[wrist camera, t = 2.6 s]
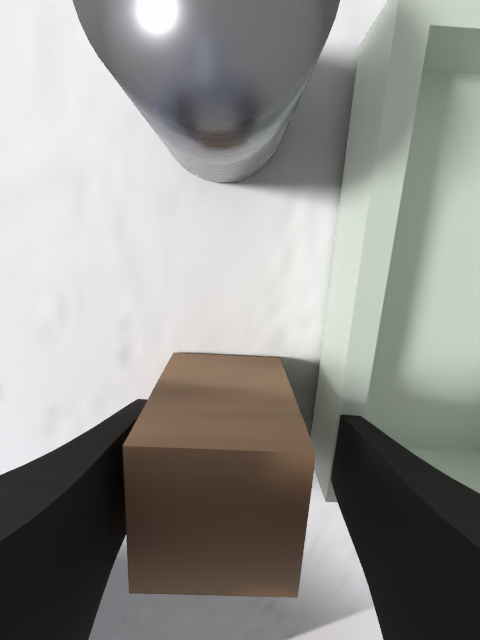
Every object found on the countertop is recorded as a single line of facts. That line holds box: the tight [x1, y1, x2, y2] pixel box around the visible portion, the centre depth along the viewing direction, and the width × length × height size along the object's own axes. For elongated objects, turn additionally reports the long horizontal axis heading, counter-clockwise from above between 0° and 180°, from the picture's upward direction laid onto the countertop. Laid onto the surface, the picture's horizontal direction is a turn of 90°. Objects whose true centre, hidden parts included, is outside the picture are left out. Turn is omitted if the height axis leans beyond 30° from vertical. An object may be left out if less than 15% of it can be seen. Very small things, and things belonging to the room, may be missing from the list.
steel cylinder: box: [73, 0, 340, 182], centre depth 7 cm, size 4×4×6 cm
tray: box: [311, 0, 480, 502], centre depth 10 cm, size 14×8×2 cm, turn 177°
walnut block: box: [123, 353, 316, 597], centre depth 10 cm, size 4×4×6 cm
